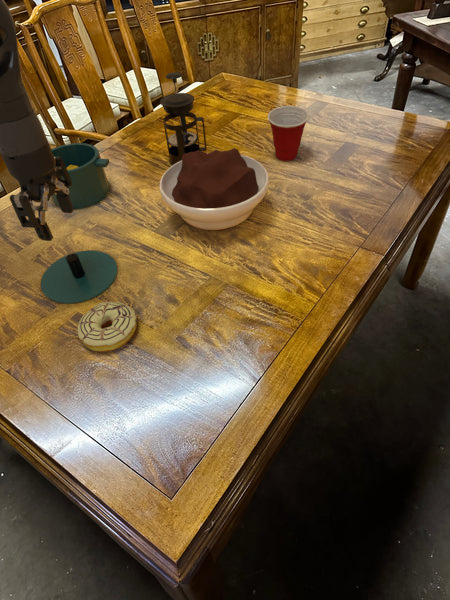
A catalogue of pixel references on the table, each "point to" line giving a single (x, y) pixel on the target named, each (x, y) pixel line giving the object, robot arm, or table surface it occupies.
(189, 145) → the french press
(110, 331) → the decorated donut
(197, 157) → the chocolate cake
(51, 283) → the lid
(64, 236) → the table surface
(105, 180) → the pot
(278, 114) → the plastic cup
